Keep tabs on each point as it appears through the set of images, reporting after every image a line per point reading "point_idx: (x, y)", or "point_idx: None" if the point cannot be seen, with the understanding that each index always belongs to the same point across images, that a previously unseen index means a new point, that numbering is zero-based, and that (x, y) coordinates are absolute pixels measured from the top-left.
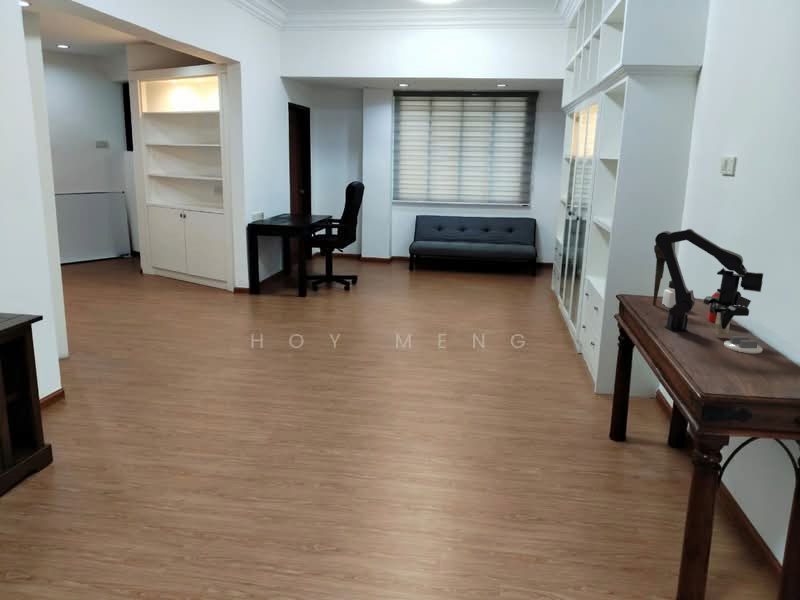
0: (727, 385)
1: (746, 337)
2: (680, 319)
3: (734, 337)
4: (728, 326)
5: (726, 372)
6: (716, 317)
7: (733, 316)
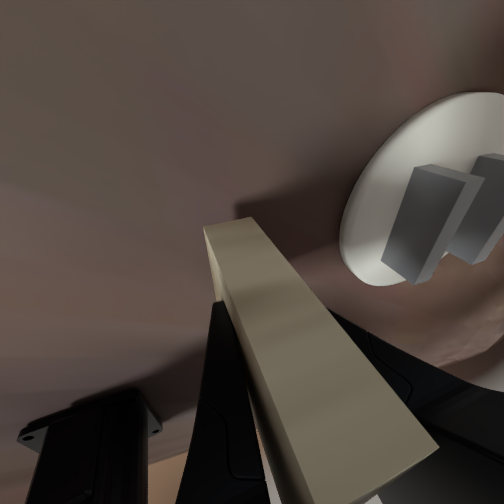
0: (500, 325)
1: (473, 197)
2: (146, 498)
3: (430, 273)
4: (287, 269)
5: (481, 318)
6: (265, 447)
7: (486, 389)
